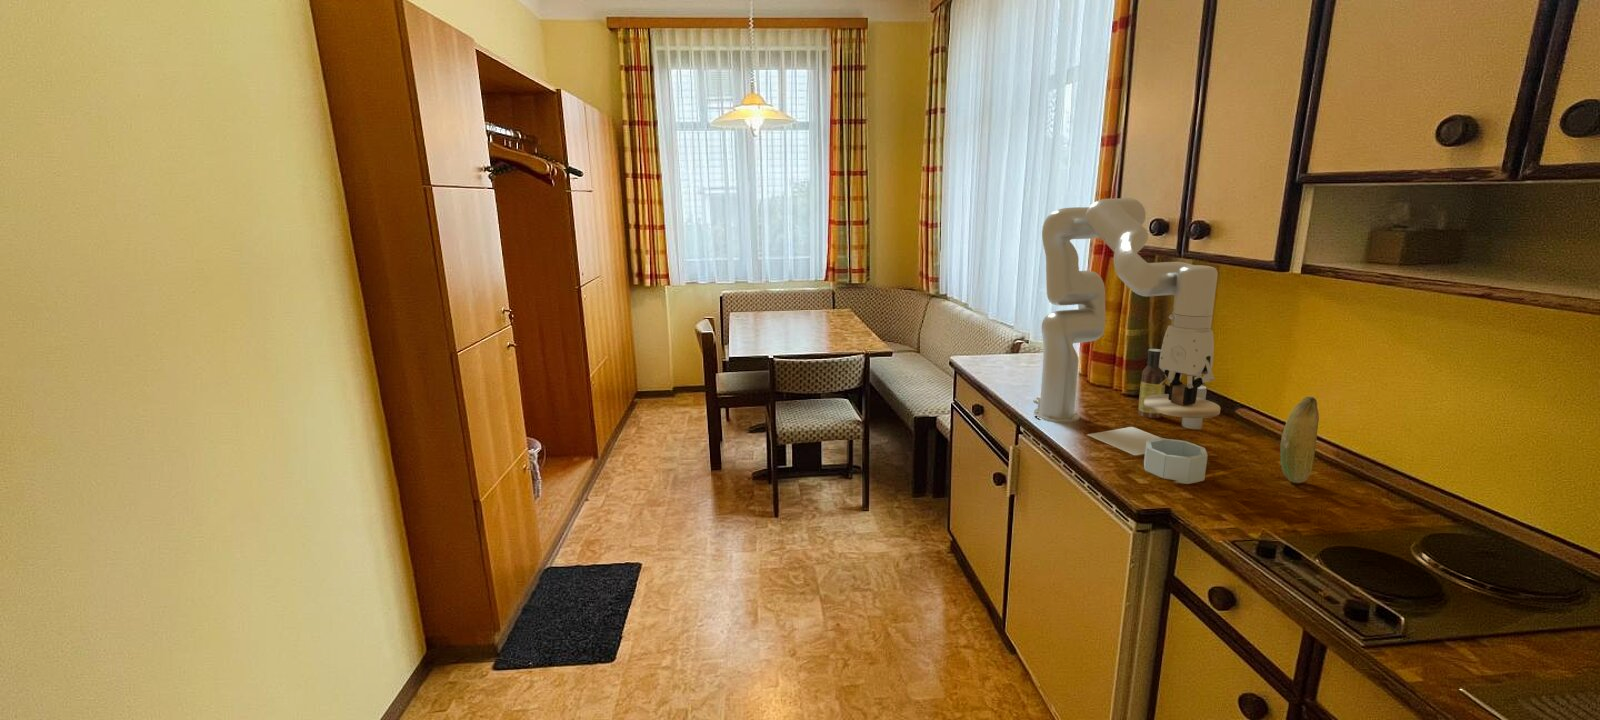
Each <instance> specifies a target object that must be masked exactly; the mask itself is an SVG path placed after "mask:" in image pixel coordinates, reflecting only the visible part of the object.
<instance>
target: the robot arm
mask: <svg viewBox="0 0 1600 720" xmlns="http://www.w3.org/2000/svg"><path fill="white" fill-rule="evenodd" d="M1146 214H1147V213H1146V210H1145V207H1144V205H1143V204H1142V203H1141V202H1140V201H1139V200H1137V199H1135V198H1130V197H1129V198H1128V197H1127V198H1126V197H1125V198H1123V197H1122V198H1101V199H1098V200H1096V201H1094V202H1093V203H1092V204H1090V205H1089V206H1087V207H1083V206H1081V207H1064V208H1060V209H1056V210H1054V211H1052V212H1050V214H1048V216H1046V218H1045V220H1044V223H1043V226H1042V229H1041V237H1042V243H1043V248H1044V253H1045V273H1046V274H1045V275H1046V278H1045V280H1046V296H1047V299H1048V302H1049V303H1050V304H1052V305H1055V306H1075V305H1076V306H1077V307H1078V309H1063V310H1062V309H1061V310H1056V311H1053V312H1050V313H1048V314H1046V316H1045V317H1044V318H1043V320H1042V322H1041V335H1042V342H1043V343H1042V344H1043V346H1042V347H1043V352H1042V353H1043V354H1042V355H1043V358H1042V370H1041V371H1042V372H1041V384H1040V385H1041V386H1040V387H1041V388H1040V395H1038V396H1036V398H1034V399H1033V400H1032V402H1033V403H1034V404H1036V405H1037V408H1036V409H1034V410H1033V415H1034V414H1035V415H1036V416H1037V417H1039V418H1042V419H1044V420H1043V421H1046V420H1048V421H1047V422H1051V421H1052V422H1053V423H1065V424H1066V423H1074V422H1077V421H1079V420H1080V417H1081V415H1080V413H1079V412H1077V411H1076V409H1075V408H1076V397H1077V396H1076V395H1077V383H1078V374H1079V360H1080V359H1079V356H1078V353H1077V351H1076V349H1075V347H1074V344H1077V343H1078V344H1079V343H1080V344H1081V343H1090V342H1095V341H1097V340H1099V339H1100V338H1101V337H1102V336H1103V334H1104V333H1105V329H1106V289H1105V287H1106V286H1105V283H1104V280H1103V278H1102V277H1101V275H1100V274H1098V273H1097V272H1095V271H1093V270H1080V267H1079V253H1078V252H1077V249H1076V247H1075V246H1074V244H1073V243H1072V242H1071V240H1084V239H1085V240H1086V239H1087V240H1089V239H1101V240H1102V241H1103V242H1104V243H1105V244H1106V245H1107V246H1108V247H1109V249H1111V251H1112V252H1113V267H1114V270H1115V273H1116V276H1117V277H1118V278H1119V279H1120V280H1121V281H1122V282H1123V284H1124V285H1125V286H1126V287H1127V288H1128V289H1130V291H1132V292H1133V293H1135V294H1136V295H1138V296H1141V297H1157V296H1158V297H1159V296H1174V300H1173V308H1172V309H1173V310H1172V313H1170V314H1169V316H1168V318H1169V319H1170V320H1171V325H1170V324H1169V325H1168V326H1167V328H1166V330H1165V334H1164V336H1163V340H1162V344H1161V349H1160V350H1161V353H1160V361H1159V368H1160V369H1161V370H1162V371H1163V372H1164V373H1165V377H1166V378H1167V382H1168V383H1169V390H1168V394H1169V398H1168V399H1169V400H1171V396H1172V388H1173V386H1175V385H1181V384H1183V381H1181V380H1182V377H1183V375H1186V376H1187V378H1186V379H1187V382H1186V383H1187V384H1186V385H1187V387H1185V388H1184V397H1183V404H1184V405H1190V404H1195V402H1196V397H1197V389H1198V387H1200V386H1201V385H1202V386H1203V384H1205V383H1208V382H1210V381H1214V380H1215V377H1214V373H1213V370H1212V369H1213V365H1214V364H1213V363H1214V354H1215V353H1214V352H1215V342H1214V341H1215V340H1214V332H1213V331H1214V330H1212V329H1211V328H1212V321H1213V315H1214V305H1215V298H1216V290H1217V283H1218V273H1219V272H1218V270H1217V268H1216V267H1213V266H1209V265H1200V264H1197V265H1196V264H1195V265H1194V264H1192V263H1188V262H1183V261H1164V262H1163V261H1162V262H1161V261H1160V262H1147V261H1146V260H1145V259H1144V258H1143V257H1141V255H1140V254H1139V252H1140V251H1141V250H1142V249H1143V248H1144V247H1145V245H1146V243H1147V242H1148V239H1149V233H1148V230H1147V229H1146V227H1145V226H1144V225H1143V224H1144V223H1145V221H1146V216H1147V215H1146ZM1202 375H1203V376H1202ZM1052 422H1051V423H1052Z"/></svg>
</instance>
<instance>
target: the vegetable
mask: <svg viewBox="0 0 1600 720" xmlns="http://www.w3.org/2000/svg"><path fill="white" fill-rule="evenodd" d="M1287 417H1288V418H1287V420H1286V423H1285V425H1284V428H1283V431H1282V434H1281V438H1280V439H1281V440H1280V445H1279V446H1280V447H1279V448H1280V450H1279V451H1280V452H1279V455H1280V456H1279V457H1280V458H1279V459H1280V467H1281V470H1282V473H1283V475H1284V476H1285V478H1286V479H1287V480H1288V481H1289V482H1290V483H1294V484H1303V483H1304V482H1306V481H1307V480H1308V479H1309V478H1310V475H1311V474H1312V472H1313V468H1314V462H1315V453H1316V447H1317V438H1318V429H1319V428H1318V427H1319V421H1320V419H1319V418H1320V415H1319V409H1318V400H1317V399H1316V398H1315V397H1313V396H1306V397H1304V398H1303V399H1302V400H1301V401H1300V402H1299V403H1298V404H1296V405H1295V406H1294V407H1293V408H1292V409H1291V411H1290V413H1289V415H1288V416H1287Z"/></svg>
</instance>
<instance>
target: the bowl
mask: <svg viewBox="0 0 1600 720" xmlns="http://www.w3.org/2000/svg"><path fill="white" fill-rule="evenodd" d="M1208 457H1209V455H1208V452H1207V450H1206V448H1205V447H1203V446H1200V445H1197V444H1195V443H1192V442H1190V441H1187V440H1183V439H1182V440H1181V439H1180V440H1179V439H1173V438H1163V437H1161V438H1160V439H1155V440H1149V441H1146V448H1145V454H1144V458H1143V466H1144V471H1145V472H1148V473H1150V474H1152V475H1154V476H1157V477H1158V478H1161V479H1165V480H1172V481H1171V482H1172V483H1179V484H1185V485H1190V484H1195V483H1199V482H1203V481H1205V478H1206V470H1207V462H1208Z"/></svg>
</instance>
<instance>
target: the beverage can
mask: <svg viewBox="0 0 1600 720" xmlns="http://www.w3.org/2000/svg"><path fill="white" fill-rule="evenodd" d="M1206 397H1207V386H1204V385H1203V384H1202V385H1201V386H1200V387H1198V389H1197V398H1202V399H1205V400H1207V399H1206ZM1181 418H1182V419H1181V426H1182V427H1183V428H1185V429H1189V430H1201V429H1202V427H1203V419H1204V418H1184V417H1181Z"/></svg>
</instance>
